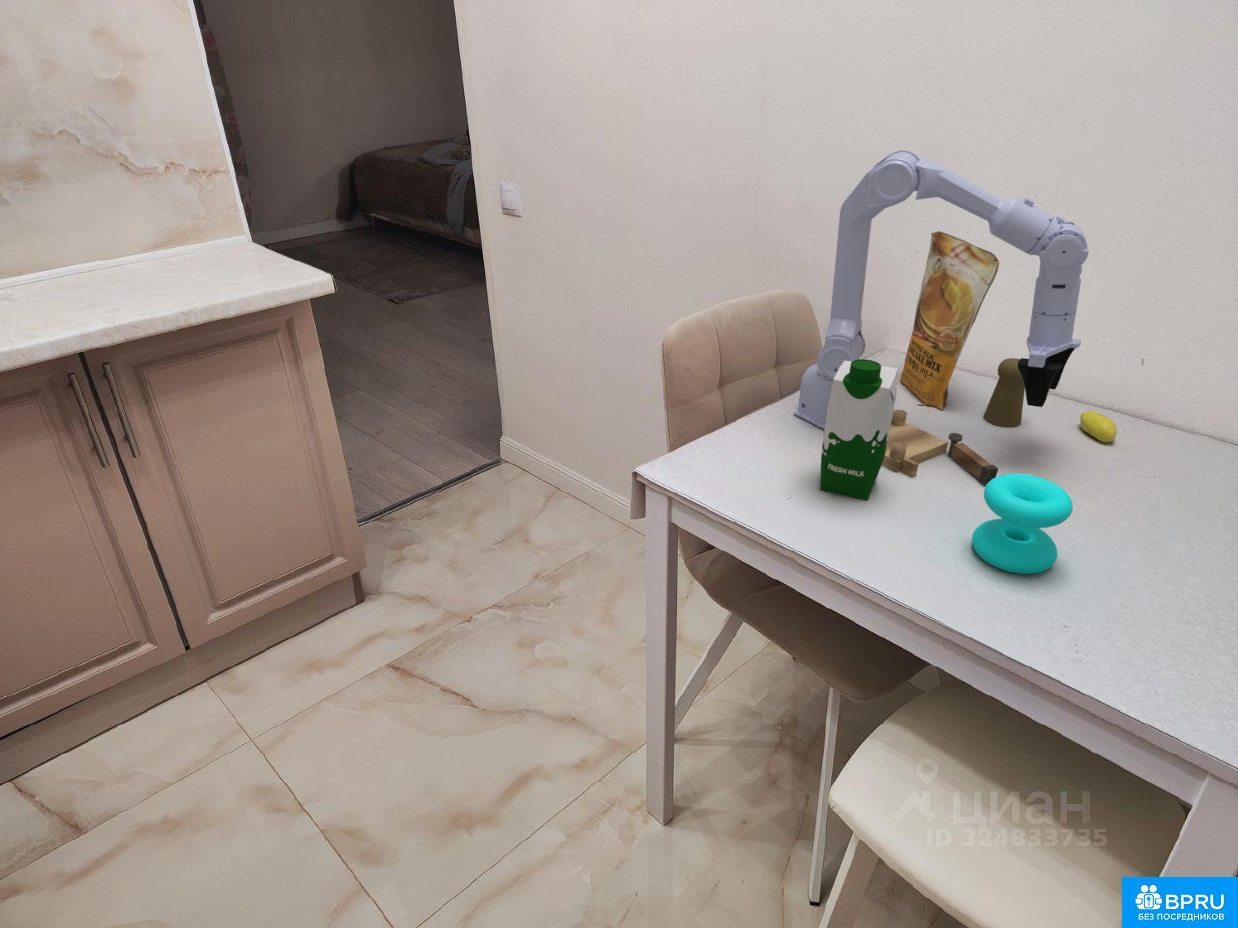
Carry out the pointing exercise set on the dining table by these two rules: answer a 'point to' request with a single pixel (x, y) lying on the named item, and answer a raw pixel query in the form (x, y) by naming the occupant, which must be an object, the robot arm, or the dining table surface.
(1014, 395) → the cork
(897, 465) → the stool seat
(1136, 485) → the dining table surface
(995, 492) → the donuts
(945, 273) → the pancake mix bag
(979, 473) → the hinged leg
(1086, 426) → the lemon
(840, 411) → the milk carton
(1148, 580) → the dining table surface
